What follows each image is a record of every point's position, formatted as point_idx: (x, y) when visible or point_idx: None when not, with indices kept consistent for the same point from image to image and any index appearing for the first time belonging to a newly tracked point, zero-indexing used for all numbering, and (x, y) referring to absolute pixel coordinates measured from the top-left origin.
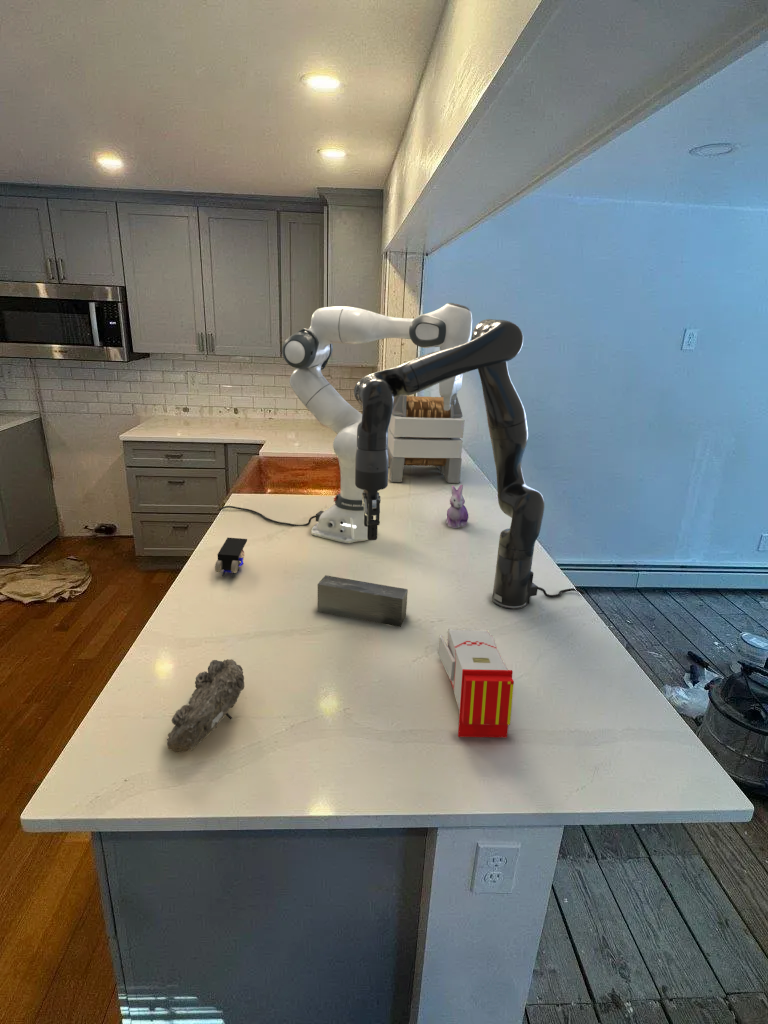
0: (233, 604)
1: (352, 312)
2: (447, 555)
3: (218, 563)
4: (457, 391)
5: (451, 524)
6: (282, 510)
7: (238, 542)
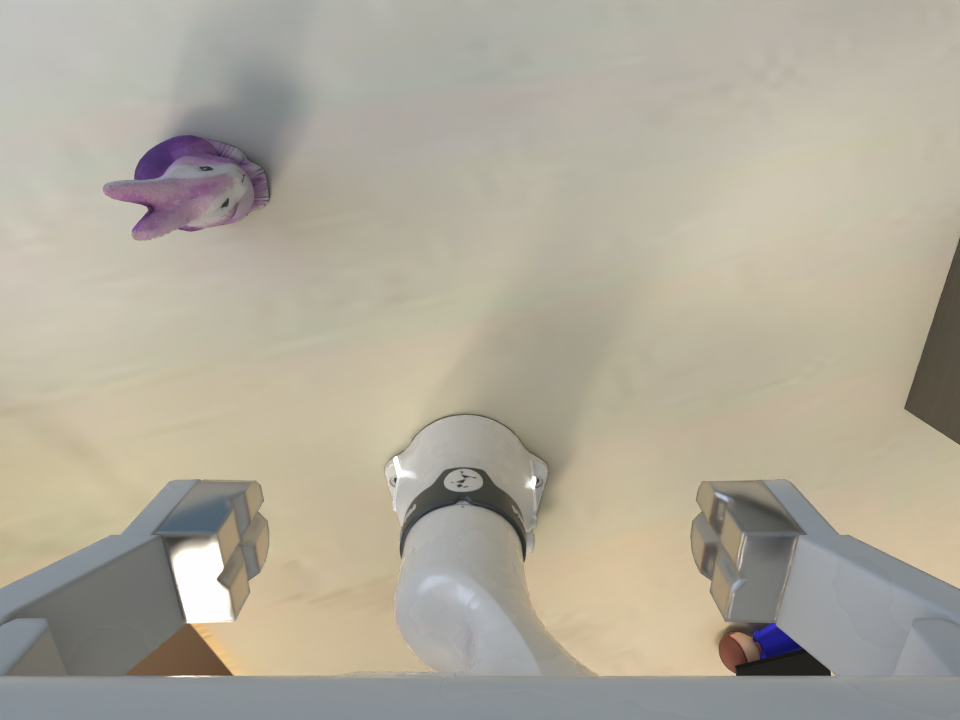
0: (929, 564)
1: None
2: (531, 162)
3: None
4: (252, 678)
5: (261, 195)
6: None
7: (761, 675)
